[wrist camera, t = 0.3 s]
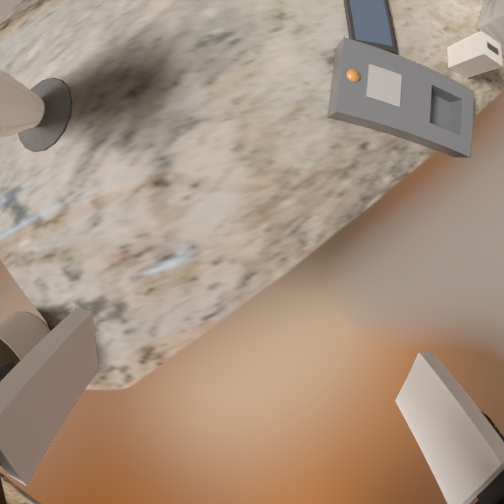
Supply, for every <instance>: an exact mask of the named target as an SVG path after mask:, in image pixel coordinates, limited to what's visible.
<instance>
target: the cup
mask: <svg viewBox="0 0 504 504" xmlns="http://www.w3.org/2000/svg"><path fill="white" fill-rule="evenodd" d="M70 109H71V97H70V93H69V88H68V87H67V86H66V85H65V84H64V82H63V81H62V80H59V79H55V78H50V79H46V80H43V81H41V82H39V83H38V84H37V85H36V86H34V87H33V88H32V89H31V90H29V89H28V88H27V87H26V86H24V85H23V84H21V83H20V82H18V81H17V80H15V79H14V78H13V77H11V76H10V75H8V74H6V73H4V72H3V71H1V70H0V138H2V137H6V136H9V135H13V134H16V133H18V135H19V139H20V141H21V142H22V144H23V145H24V147H25V148H27V149H29V150H31V151H33V152H37V151H44V150H46V149H47V148H48V147H50V146H51V145H53V144H54V143H55V142H56V141H57V139H58V138H59V137H60V135H61V134H62V133H63V131H64V129H65V127H66V124H67V122H68V119H69V117H70Z"/></svg>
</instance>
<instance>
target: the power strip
mask: <svg viewBox="0 0 504 504" xmlns="http://www.w3.org/2000/svg"><path fill="white" fill-rule="evenodd" d="M473 112H474V91H472V90H471V89H469V88H467V87H465V86H463V85H462V84H460V83H458V82H456V81H454V80H452V79H450V78H448V77H446V76H444V75H442V74H440V73H438V72H436V71H434V70H432V69H429V68H427V67H425V66H423V65H421V64H418V63H416V62H414V61H411V60H409V59H406V58H404V57H401V56H399V55H396V54H393V53H391V52H388V51H385V50H382V49H380V48H377V47H374V46H371V45H368V44H365V43H361V42H358V41H355V40H351V39H348V38H343V40H342V41H341V42H340V44H339V45H338V46H337V48H336V49H335V59H334V68H333V77H332V86H331V94H330V102H329V110H328V118H332V119H337V120H341V121H345V122H349V123H353V124H356V125H360V126H364V127H367V128H371V129H374V130H378V131H381V132H384V133H388V134H391V135H394V136H397V137H400V138H403V139H406V140H409V141H412V142H415V143H418V144H421V145H424V146H426V147H429V148H432V149H435V150H437V151H440V152H443V153H445V154H448V155H450V156H452V157H471V146H472V133H473Z"/></svg>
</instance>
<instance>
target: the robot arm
mask: <svg viewBox="0 0 504 504" xmlns="http://www.w3.org/2000/svg"><path fill="white" fill-rule="evenodd" d="M98 369H99V363H98V356H97V349H96V340H95V331H94V321H93V312H92V311H88V310H84V309H80V308H77V307H76V308H75V309H74V310H73V311H72V312H71V313H70V314H69V315H68V316H67V317H65V318H64V319H63V320H62V321H61V322H60V323H59V324H58V325H57V326H56V327H55V328H54V329H53V330H52V331H50V332H49V333H48V334H47V335H46V336H45V337H44V338H43V339H42V340H41V341H40V342H39V343H38V344H37V345H36V346H35V347H34V348H33V349H32V350H31V351H30V352H29V353H28V354H27V355H26V356H25V357H24V358H23V359H22V360H21V361H20V362H19V363H18V364H16V363H14V362H10V363H8V364H6V365H4V366H2V367H0V465H1V466H2V467H3V469H4V470H5V471H6V473H7V474H8V475H9V476H11V477H12V478H14V479H16V480H18V481H19V482H21V483H22V484H24V485H26V486H27V485H28V483H29V481H30V479H31V478H32V476H33V474H34V472H35V470H36V469H37V467H38V465H39V463H40V462H41V460H42V458H43V456H44V455H45V453H46V451H47V450H48V448H49V446H50V444H51V443H52V441H53V439H54V438H55V436H56V435H57V433H58V431H59V430H60V428H61V426H62V425H63V423H64V421H65V420H66V418H67V416H68V415H69V413H70V412H71V410H72V408H73V407H74V406H75V404H76V402H77V401H78V399H79V398H80V396H81V395H82V393H83V392H84V390H85V389H86V387H87V386H88V384H89V382H90V381H91V379H92V378H93V376H94V375H95V373H96V372H97V370H98ZM395 401H396V403H397V405H398V407H399V409H400V411H401V412H402V414H403V416H404V418H405V420H406V422H407V424H408V425H409V427H410V429H411V431H412V433H413V435H414V437H415V439H416V441H417V442H418V445H419V446H420V448H421V450H422V452H423V454H424V456H425V458H426V460H427V462H428V464H429V466H430V468H431V470H432V472H433V474H434V476H435V478H436V480H437V482H438V484H439V486H440V489H441V491H442V493H443V495H444V497H445V499H446V501H447V503H448V504H469V503H470V502H471V501H472V500H473V499H474V498H475V497H477V498H478V500H479V501H477V502H476V503H475V504H504V437H503V435H502V434H500V432H499V430H498V429H497V427H495V425H494V423H493V422H492V421H491V419H490V418H489V417H488V416H487V415H486V414H484V413H483V412H482V411H480V410H479V408H478V407H477V406H476V405H475V403H474V402H473V401H472V400H471V398H470V397H469V396H468V395H467V393H466V392H465V391H464V390H463V388H462V387H461V386H460V385H459V383H458V382H457V381H456V380H455V379H454V377H453V376H452V375H451V374H450V373H449V372H448V370H447V369H446V368H445V367H444V365H443V364H442V363H441V362H440V361H439V360H438V358H437V357H436V356H435V355H434V354H433V353H432V352H419V353H418V356H417V358H416V360H415V362H414V365H413V366H412V369H411V371H410V373H409V375H408V377H407V379H406V381H405V383H404V385H403V387H402V389H401V391H400V393H399V395H398V396H397V398H396V400H395ZM0 504H7V503H6V499H5V495H4V491H3V487H2V483H1V478H0Z"/></svg>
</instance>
